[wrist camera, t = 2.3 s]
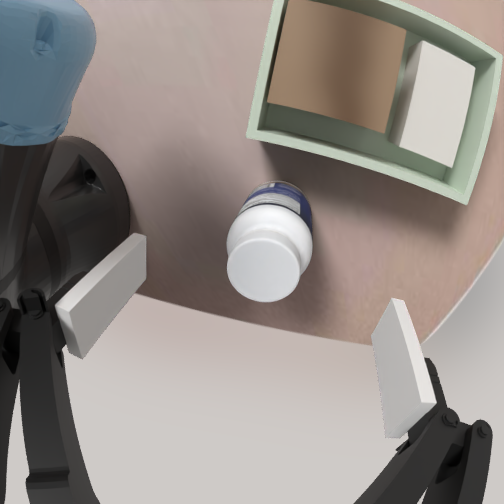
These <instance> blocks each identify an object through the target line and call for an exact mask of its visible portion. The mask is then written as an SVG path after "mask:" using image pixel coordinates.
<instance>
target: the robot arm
mask: <svg viewBox="0 0 504 504" xmlns="http://www.w3.org/2000/svg"><path fill="white" fill-rule="evenodd" d="M95 46H96V30H95V26H94V23H93V20H92V19H91V17H90V15H89V14H88V13H87V11H86V10H85V9H84V8H83V7H82V6H81V5H79V4H78V3H77V2H76V1H74V0H0V504H4V501H5V494H6V473H7V457H8V446H9V437H10V429H11V421H12V415H13V409H14V404H15V398H16V393H17V388H18V383H19V379H20V402H21V415H22V426H23V434H24V442H25V448H26V455H27V461H28V465H29V473H30V474H29V476H28V477H27V478H26V489H27V494H28V498H29V501H30V504H100V502H99V500H98V499H97V497H96V495H95V493H94V491H93V489H92V486H91V483H90V480H89V477H88V473H87V470H86V467H85V463H84V460H83V456H82V453H81V449H80V445H79V441H78V437H77V433H76V429H75V424H74V420H73V415H72V410H71V404H70V399H69V393H68V387H67V380H66V373H65V365H64V356H63V352H62V348H63V347H64V346H65V345H67V348H68V351H69V353H71V354H73V355H75V356H77V357H79V358H81V359H83V358H84V357H85V356H86V354H87V353H88V351H89V350H90V349H91V348H92V346H93V345H94V344H95V342H96V341H97V340H98V338H99V337H100V336H101V334H102V333H103V332H104V330H105V329H106V328H107V327H108V325H109V324H110V323H111V322H112V320H113V319H114V318H115V317H116V315H117V314H118V313H119V311H120V310H121V309H122V308H123V307H124V305H125V304H126V303H127V302H128V300H129V299H130V298H131V297H132V295H133V294H134V293H135V292H136V291H137V289H138V288H139V287H140V286H141V285H142V283H143V282H144V281H145V280H146V236H145V235H141V234H137V233H133V234H132V235H131V236H130V237H128V234H129V226H130V213H129V205H128V200H127V195H126V192H125V189H124V186H123V183H122V181H121V178H120V176H119V174H118V172H117V171H116V169H115V167H114V166H113V164H112V163H111V161H110V160H109V159H108V157H107V156H106V155H105V154H104V153H103V152H102V151H101V150H100V149H99V148H98V147H96V146H95V145H94V144H92V143H91V142H89V141H87V140H85V139H82V138H79V137H74V136H64V137H60V138H58V137H59V135H61V134H62V133H63V132H64V130H65V127H66V125H67V123H68V118H69V116H70V114H71V107H72V101H73V98H74V96H75V93H76V91H77V89H78V87H79V84H80V82H81V80H82V78H83V75H84V73H85V71H86V69H87V67H88V65H89V63H90V61H91V59H92V56H93V53H94V50H95ZM58 289H59V290H58ZM371 338H372V344H373V349H374V355H375V361H376V367H377V374H378V381H379V387H380V395H381V402H382V410H383V420H384V429H385V438H401V437H402V436H403V435H404V434H405V433H407V432H408V437H409V439H408V440H406V441H405V442H404V443H403V444H402V445H400V446H399V447H398V448H397V449H396V451H398V452H397V453H396V454H395V456H394V457H393V458H392V460H391V461H390V462H389V463H388V465H387V466H386V467H385V468H384V470H383V471H382V472H381V473H380V475H379V476H378V477H377V478H376V479H375V481H374V482H373V483H372V484H371V485H370V486H369V488H368V489H367V490H366V491H365V492H364V493H363V494H362V495H361V496H360V497H359V499H357V500H356V502H355V503H354V504H417V502H418V501H419V499H420V498H421V496H422V495H423V493H424V492H425V490H426V489H427V490H426V493H425V496H424V499H423V502H422V504H482V501H483V497H484V492H485V487H486V482H487V476H488V470H489V463H490V455H491V447H492V436H493V435H492V429H491V427H490V425H489V424H488V423H487V422H485V421H484V420H477V421H476V422H475V423H474V424H472V425H468V424H465V423H462V422H460V420H459V417H458V415H457V414H456V412H455V411H454V410H452V409H450V408H447V405H446V401H445V397H444V394H443V390H442V387H441V384H440V380H439V377H438V374H437V370H436V367H435V366H434V364H433V363H432V361H431V360H430V359H429V358H424V357H423V354H422V350H421V347H420V344H419V341H418V338H417V335H416V332H415V330H414V327H413V324H412V321H411V318H410V316H409V313H408V310H407V308H406V305H405V302H404V300H399V299H395V298H391V300H390V302H389V304H388V306H387V308H386V310H385V311H384V313H383V315H382V317H381V319H380V321H379V323H378V324H377V326H376V328H375V330H374V332H373V333H372V335H371ZM427 487H428V488H427Z"/></svg>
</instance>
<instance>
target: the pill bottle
mask: <svg viewBox="0 0 504 504" xmlns="http://www.w3.org/2000/svg"><path fill="white" fill-rule="evenodd" d="M312 247H313V238H312V217H311V208H310V204H309V201H308V199H307V197H306V196H305V194H304V193H303V192H302V191H301V190H300V189H299V188H298V187H296V186H295V185H293V184H291V183H288V182H285V181H269V182H266V183H263V184H261V185H259V186H258V187H257V188H255V189H254V190H253V191H252V192H251V194H250V195H249V197H248V198H247V200H246V202H245V203H244V205H243V207H242V208H241V210H240V212H239V213H238V215H237V217H236V218H235V220H234V222H233V224H232V226H231V228H230V230H229V233H228V236H227V254H228V257H229V259H228V262H227V274H228V277H229V280H230V282H231V284H232V285H233V287H234V288H235V289H236V290H237V291H238V292H239V293H240V294H242V295H243V296H245V297H247V298H249V299H251V300H254V301H258V302H274V301H278V300H281V299H283V298H285V297H286V296H288V295H289V294H291V293H292V291H293V290H294V289H295V288H296V286H297V284H298V282H299V279H300V275H301V274H302V273H303V272H304V271H305V270H306V268H307V266H308V265H309V262H310V260H311V256H312Z"/></svg>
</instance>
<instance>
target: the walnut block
mask: <svg viewBox="0 0 504 504" xmlns="http://www.w3.org/2000/svg"><path fill="white" fill-rule="evenodd" d="M405 36H406V29H403V28H401V27H398V26H396V25H393V24H390V23H387V22H385V21H382V20H379V19H376V18H373V17H370V16H367V15H364V14H360V13H357V12H354V11H350V10H347V9H343V8H339V7H335V6H331V5H327V4H323V3H318V2H313V1H309V0H289V1H288V5H287V10H286V14H285V19H284V23H283V28H282V33H281V37H280V42H279V47H278V51H277V56H276V61H275V66H274V70H273V75H272V80H271V85H270V89H269V94H268V99H267V102H268V103H273V104H278V105H283V106H287V107H292V108H296V109H301V110H305V111H309V112H313V113H317V114H321V115H324V116H328V117H332V118H335V119H339V120H342V121H346V122H349V123H353V124H356V125H359V126H362V127H365V128H368V129H371V130H374V131H377V132H380V133H383V134H384V133H385V129H386V125H387V121H388V117H389V113H390V109H391V105H392V101H393V96H394V92H395V88H396V83H397V78H398V74H399V69H400V64H401V59H402V53H403V48H404V42H405Z"/></svg>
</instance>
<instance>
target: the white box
mask: <svg viewBox="0 0 504 504" xmlns="http://www.w3.org/2000/svg"><path fill="white" fill-rule="evenodd" d="M474 74H475V67H474V66H472V65H470V64H469V63H467V62H465V61H463V60H461V59H460V58H458V57H456V56H454V55H452V54H450V53H448V52H446V51H444V50H442V49H440V48H438V47H436V46H434V45H432V44H430V43H428V42H426V41H423V40H422V41H420V42H418V43H416V44H414V45H412V46H410V47H409V50H408V55H407V61H406V66H405V71H404V76H403V80H402V85H401V90H400V94H399V98H398V103H397V107H396V111H395V115H394V119H393V123H392V127H391V131H390V134H389V138H388V141H389V142H391V143H393V144H395V145H397V146H399V147H402V148H404V149H407V150H410V151H412V152H415V153H417V154H420V155H422V156H425V157H427V158H430V159H432V160H435V161H437V162H439V163H442V164H444V165H446V166H448V167H451V168H452V166H453V163H454V160H455V156H456V153H457V149H458V146H459V142H460V139H461V135H462V131H463V127H464V123H465V119H466V114H467V110H468V105H469V101H470V96H471V91H472V85H473V80H474Z"/></svg>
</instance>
